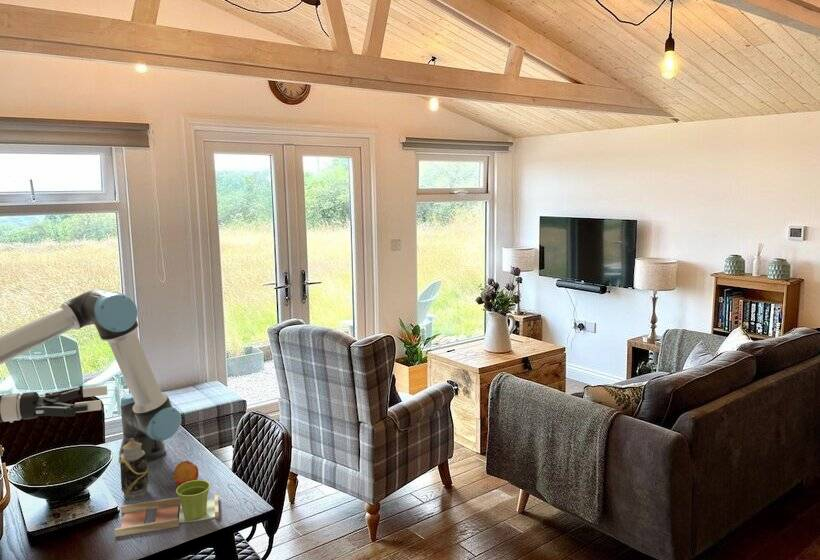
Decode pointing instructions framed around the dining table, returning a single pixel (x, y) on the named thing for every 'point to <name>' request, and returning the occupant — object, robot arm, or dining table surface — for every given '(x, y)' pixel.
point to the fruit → (185, 472)
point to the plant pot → (193, 498)
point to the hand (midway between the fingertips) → (104, 397)
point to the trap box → (159, 515)
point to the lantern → (133, 469)
